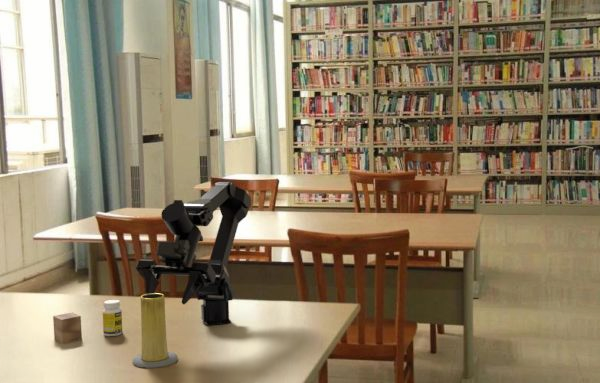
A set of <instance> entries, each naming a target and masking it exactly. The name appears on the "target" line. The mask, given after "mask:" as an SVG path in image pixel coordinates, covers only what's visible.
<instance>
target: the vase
mask: <svg viewBox="0 0 600 383" xmlns="http://www.w3.org/2000/svg"><path fill="white" fill-rule="evenodd" d="M140 319H141V320H140V321H141V354H142V355H141V359H142V360H143V361H147V362H156V361H162V360H165V359H166V358H168V356H169V355H168V352H169V351H168V341H167V340H168V339H167V328H166V327H167V326H166V301H165V294H163V293H159V292H158V293H157V292H154V293H151V294H146V293H145V294H142V295H140Z"/></svg>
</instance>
